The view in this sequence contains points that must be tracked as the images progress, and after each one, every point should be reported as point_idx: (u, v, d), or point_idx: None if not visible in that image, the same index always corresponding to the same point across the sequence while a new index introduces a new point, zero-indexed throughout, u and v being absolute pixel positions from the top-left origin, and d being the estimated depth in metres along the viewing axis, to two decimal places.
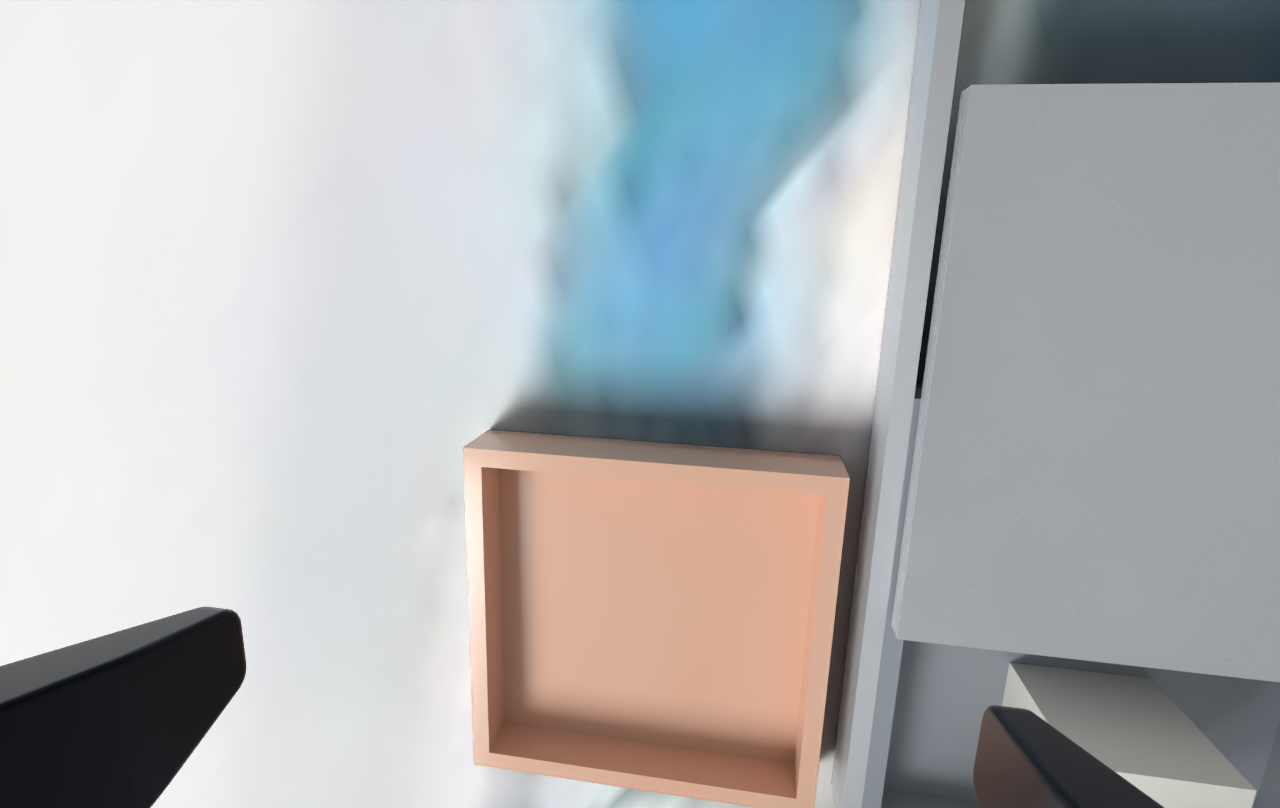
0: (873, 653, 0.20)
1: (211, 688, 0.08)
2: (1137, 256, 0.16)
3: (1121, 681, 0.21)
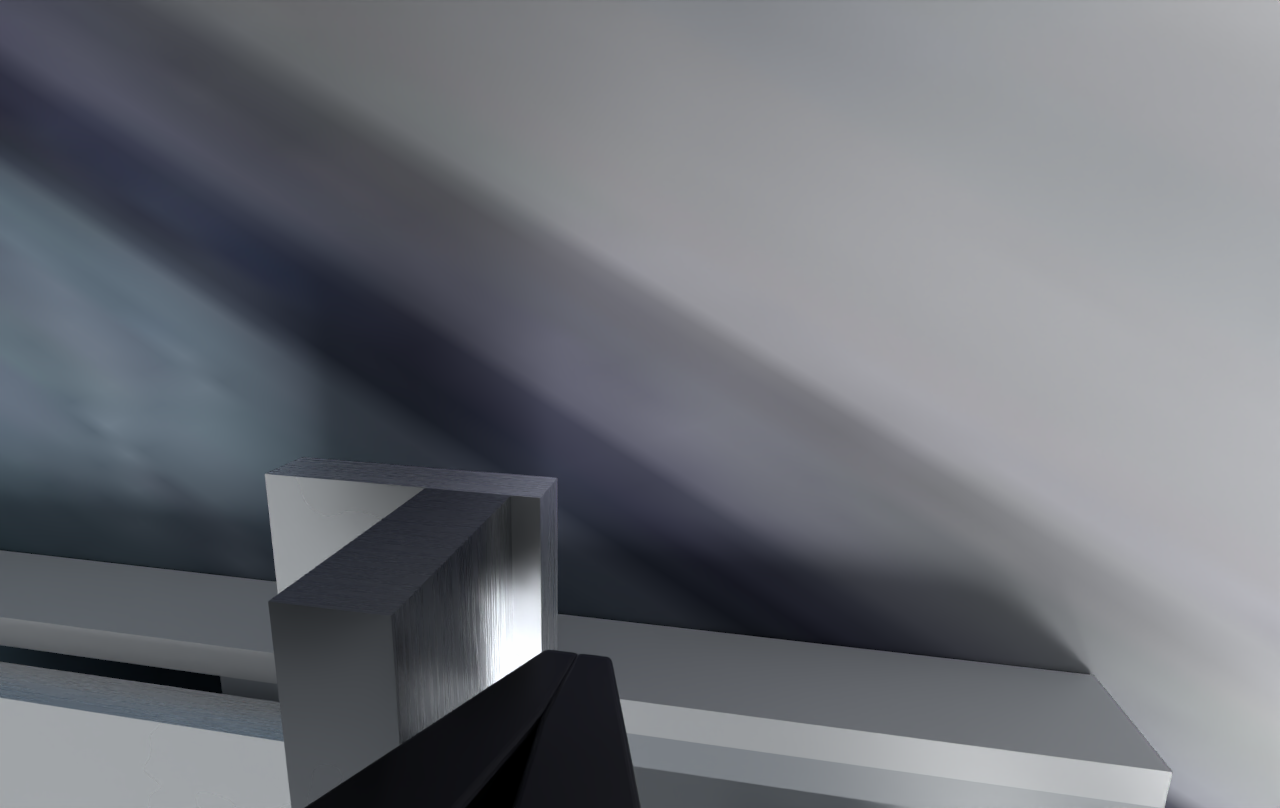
0: None
1: None
2: None
3: None
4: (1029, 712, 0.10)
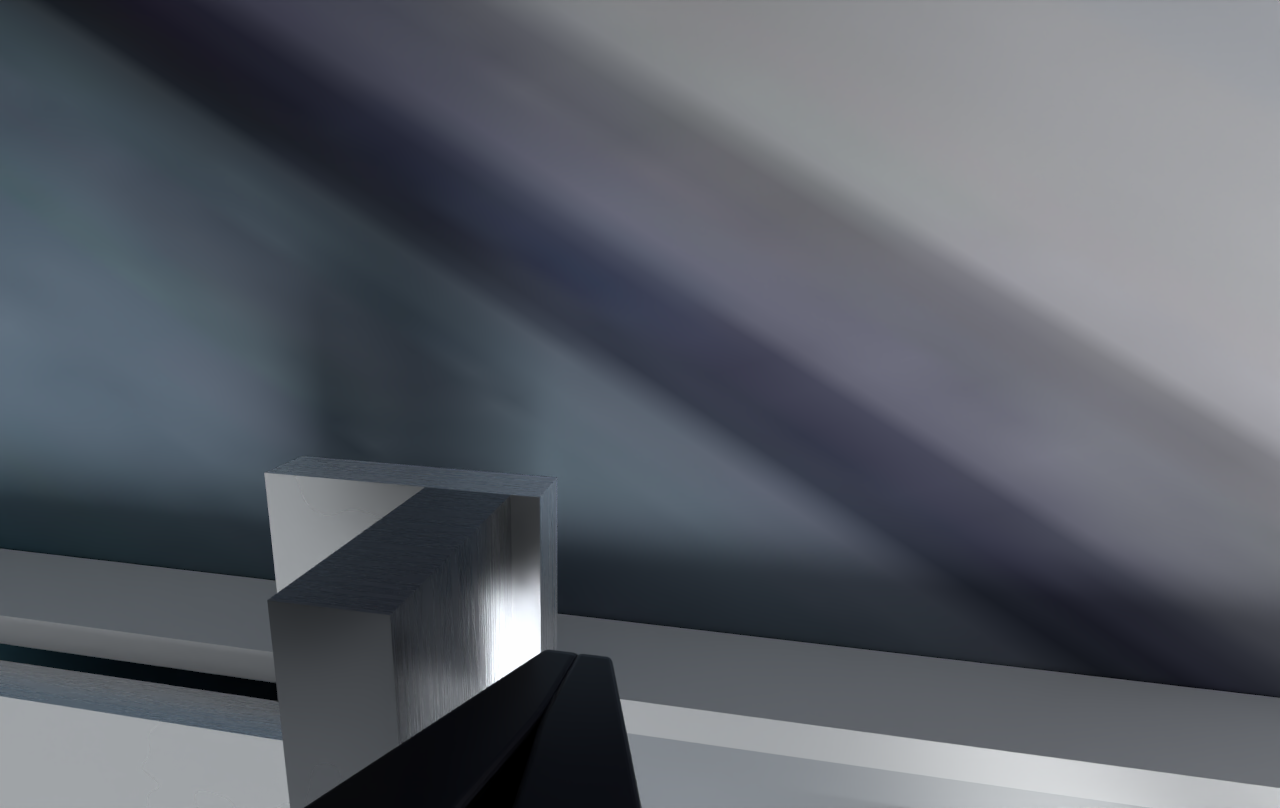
0: None
1: None
2: None
3: None
4: None
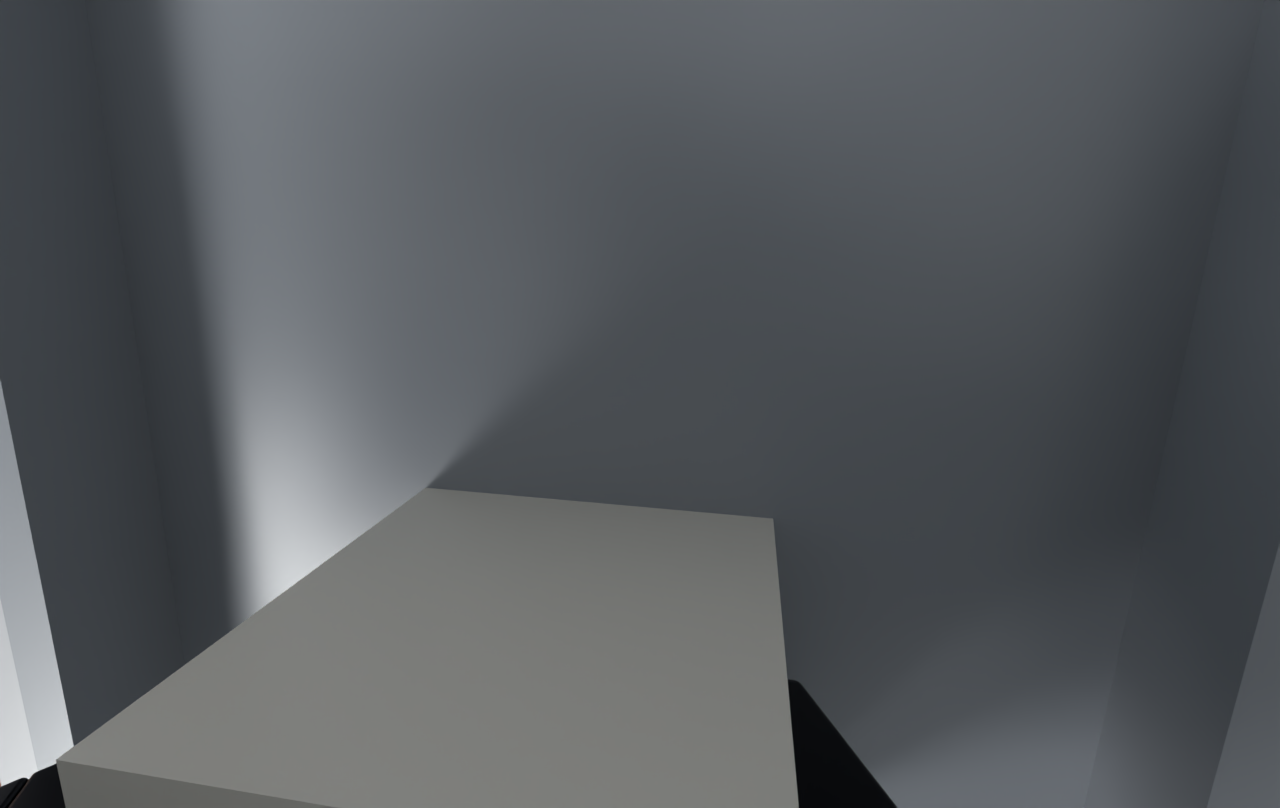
0: None
1: None
2: None
3: (677, 522, 0.07)
4: None
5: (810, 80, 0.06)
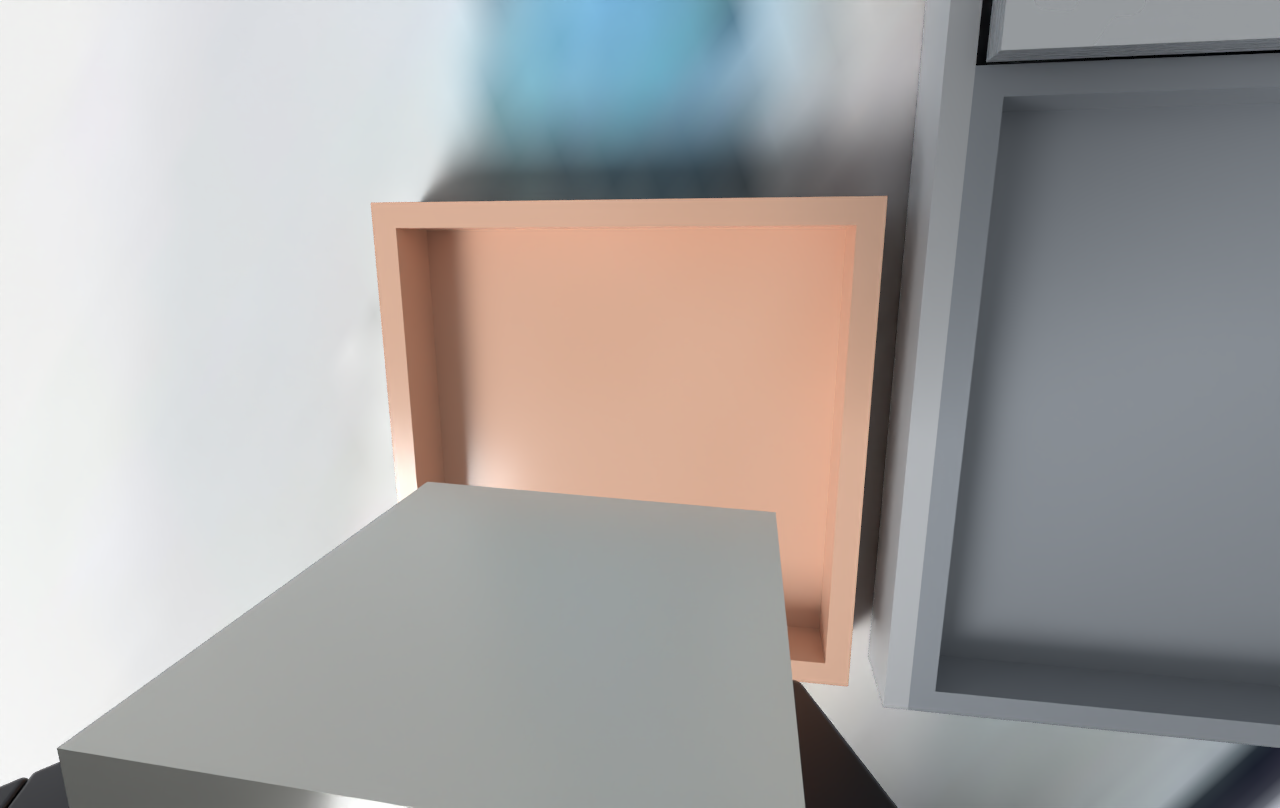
0: (924, 450, 0.15)
1: None
2: None
3: (679, 515, 0.07)
4: None
5: None
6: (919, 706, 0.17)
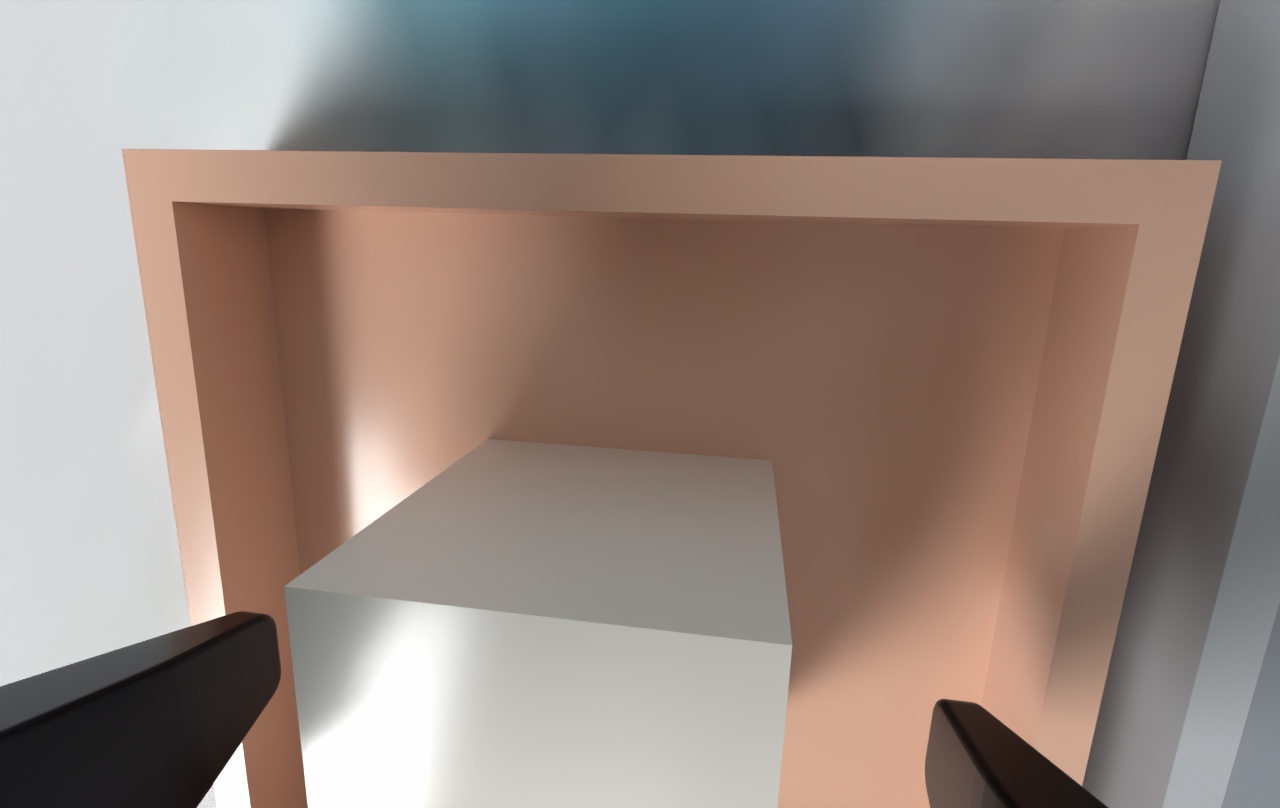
0: (1229, 694, 0.07)
1: (249, 693, 0.08)
2: None
3: (695, 462, 0.09)
4: None
5: None
6: None
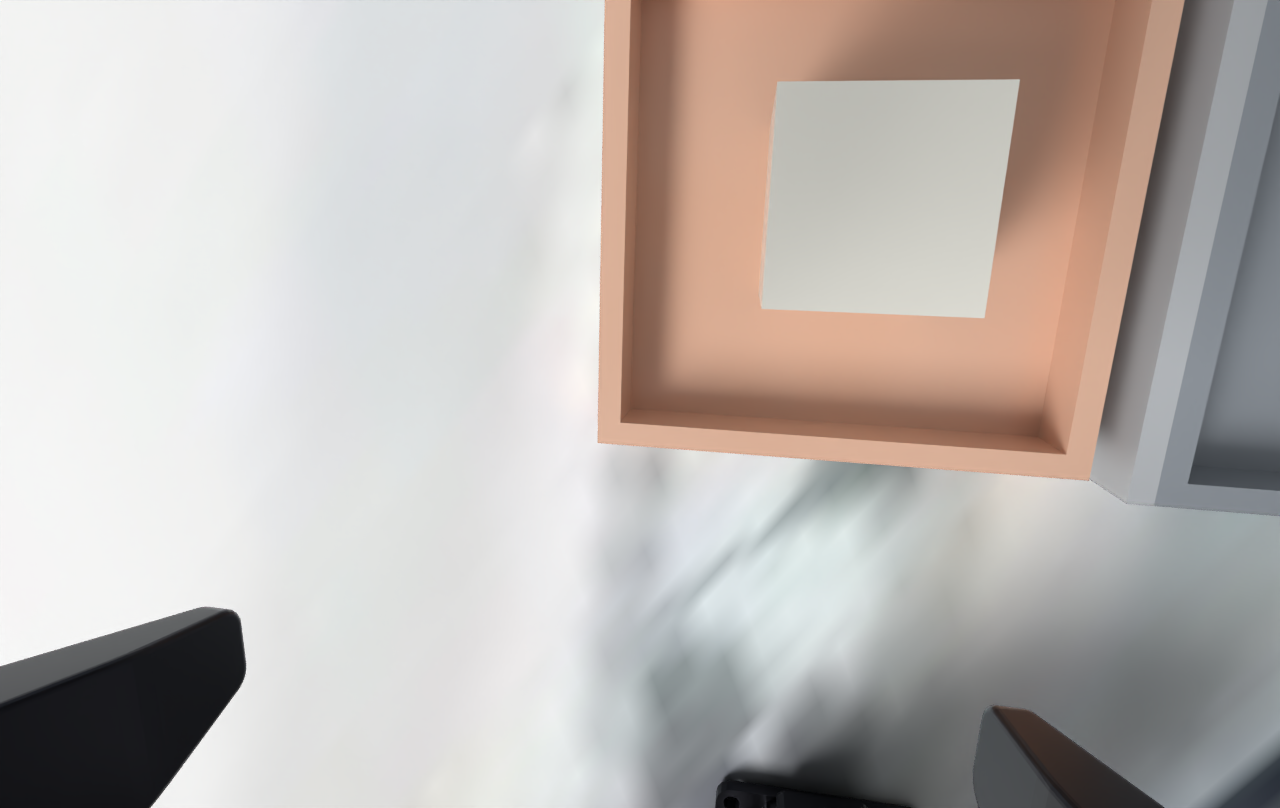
0: (1209, 203, 0.14)
1: (211, 688, 0.08)
2: None
3: None
4: None
5: None
6: (1167, 501, 0.16)
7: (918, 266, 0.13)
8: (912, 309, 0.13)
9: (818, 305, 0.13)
